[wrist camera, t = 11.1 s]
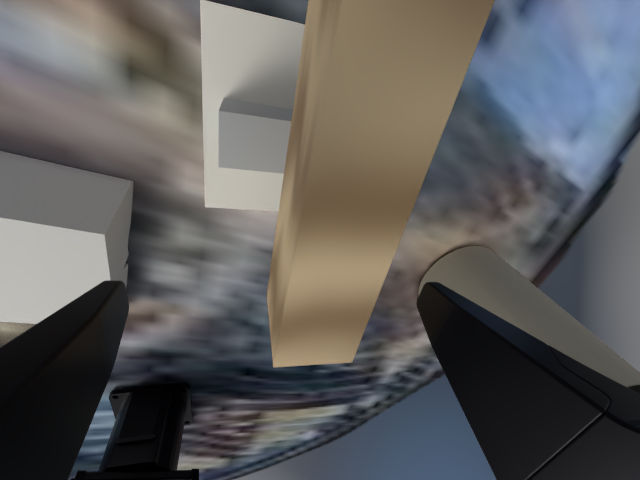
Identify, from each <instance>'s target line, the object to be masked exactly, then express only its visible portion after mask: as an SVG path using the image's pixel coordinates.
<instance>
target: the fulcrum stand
mask: <svg viewBox="0 0 640 480" xmlns="http://www.w3.org/2000/svg"><path fill="white" fill-rule="evenodd" d="M200 11H201V54H202V98H203V141H204V184H205V207H213V208H228V209H244V210H260V211H275V212H279V205H280V198H281V191H282V184H283V177H284V170H285V163H286V155H287V148H288V141H289V134H290V127H291V120H292V113H293V106H294V99H295V92H296V85H297V78H298V71H299V64H300V57H301V50H302V43H303V36H304V29H305V24H301V23H297V22H293V21H289V20H285V19H281V18H276V17H272V16H268V15H264V14H260V13H256V12H252V11H247V10H243V9H239V8H235V7H231V6H227V5H223V4H218V3H214V2H210V1H206V0H200Z"/></svg>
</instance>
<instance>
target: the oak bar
mask: <svg viewBox="0 0 640 480" xmlns="http://www.w3.org/2000/svg"><path fill="white" fill-rule="evenodd" d="M494 1H495V0H309V1H308V8H307V15H306V22H305V29H304V36H303V43H302V50H301V57H300V64H299V71H298V78H297V85H296V92H295V99H294V106H293V113H292V120H291V127H290V134H289V141H288V148H287V155H286V163H285V170H284V177H283V184H282V191H281V198H280V205H279V212H278V219H277V226H276V233H275V240H274V247H273V254H272V261H271V268H270V275H269V282H268V289H267V303H268V314H269V325H270V336H271V347H272V358H273V367H288V366H304V365H319V364H335V363H350V362H352V361H353V359H354V356H355V354H356V351H357V349H358V346H359V343H360V341H361V338H362V336H363V333H364V331H365V328H366V326H367V323H368V321H369V318H370V316H371V313H372V311H373V308H374V305H375V303H376V300H377V298H378V295H379V293H380V290H381V288H382V285H383V283H384V280H385V278H386V275H387V273H388V270H389V267H390V265H391V262H392V260H393V257H394V255H395V252H396V250H397V247H398V245H399V242H400V240H401V237H402V235H403V232H404V229H405V227H406V224H407V222H408V219H409V217H410V214H411V212H412V209H413V207H414V204H415V202H416V199H417V197H418V194H419V191H420V189H421V186H422V184H423V181H424V179H425V176H426V174H427V171H428V169H429V166H430V164H431V161H432V159H433V156H434V153H435V151H436V148H437V146H438V143H439V141H440V138H441V136H442V133H443V131H444V128H445V126H446V123H447V120H448V118H449V115H450V113H451V110H452V108H453V105H454V103H455V100H456V98H457V95H458V93H459V90H460V88H461V85H462V82H463V80H464V77H465V75H466V72H467V70H468V67H469V65H470V62H471V60H472V57H473V55H474V52H475V50H476V47H477V44H478V42H479V39H480V37H481V34H482V32H483V29H484V27H485V24H486V22H487V19H488V17H489V14H490V12H491V9H492V6H493V4H494Z"/></svg>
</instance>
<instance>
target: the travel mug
mask: <svg viewBox="0 0 640 480" xmlns="http://www.w3.org/2000/svg"><path fill="white" fill-rule="evenodd" d="M426 282H439V283H441V284H442V285H444V286H446V287H448V288H449V289H451V290H453V291H455V292H456V293H458V294H460V295H462V296H463V297H465V298H467V299H469V300H471V301H472V302H474V303H476V304H478V305H479V306H481V307H483V308H485V309H486V310H488V311H490V312H492V313H493V314H495V315H497V316H499V317H500V318H502V319H504V320H506V321H507V322H509V323H511V324H513V325H514V326H516V327H518V328H520V329H521V330H523V331H525V332H527V333H528V334H530V335H532V336H534V337H536V338H537V339H539V340H541V341H543V342H544V343H546V344H547V345H550V346H551V347H553V348H555V349H557V350H558V351H560V352H562V353H564V354H566V355H567V356H569V357H571V358H573V359H575V360H576V361H578V362H580V363H582V364H584V365H586V366H587V367H589V368H591V369H593V370H595V371H597V372H599V373H601V374H603V375H604V376H606V377H608V378H610V379H612V380H614V381H616V382H618V383H620V384H622V385H624V386H626V387H628V388H630V389H631V390H633V391H635V392H637V393H639V394H640V372H639V371H637V370H636V369H635V368H634V367H632V366H631V365H630V364H629V363H628V362H626V361H625V360H624V359H623V358H621V357H620V356H619V355H618V354H617V353H615V352H614V351H613V350H612V349H611V348H609V347H608V346H607V345H606V344H605V343H603V342H602V341H601V340H600V339H598V338H597V337H596V336H595V335H594V334H592V333H591V332H590V331H589V330H588V329H586V328H585V327H584V326H583V325H582V324H580V323H579V322H578V321H577V320H576V319H574V318H573V317H572V316H571V315H570V314H568V313H567V312H566V311H565V310H563V309H562V308H561V307H560V306H559V305H557V304H556V303H555V302H554V301H553V300H551V299H550V298H549V297H548V296H546V295H545V294H544V293H543V292H542V291H540V290H539V289H538V288H537V287H536V286H534V285H533V284H532V283H531V282H530V281H528V280H527V279H526V278H525V277H523V276H522V275H521V274H520V273H519V272H517V271H516V270H515V269H514V268H513V267H511V266H510V265H509V264H508V263H507V262H505V261H504V260H503V259H502V258H500V257H499V256H498V255H497V254H496V253H494V252H493V251H492V250H491V249H489V248H487V247H483V246H468V247H464V248H460V249H458V250H455V251H453V252H451V253H449V254H447V255H445V256H444V257H442V258H441V259H440V260H438V261H437V262H436V263H435V264H434V265H433V266H432V267H431V268H430V269H429V270H428V271H427V273H426V274H425V276H424V277H423V279H422V281H421V283H420V286H419V292H418V296H419V294H420V292H421V290H422V288H423V285H424V284H425V283H426Z"/></svg>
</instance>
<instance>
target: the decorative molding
mask: <svg viewBox="0 0 640 480" xmlns="http://www.w3.org/2000/svg"><path fill="white" fill-rule="evenodd" d="M133 184H134V181H130V180H126V179H122V178H117V177H113V176H108V175H104V174H99V173H95V172H90V171H86V170H81V169H77V168H73V167H68V166H64V165H60V164H55V163H51V162H47V161H43V160H38V159H34V158H30V157H25V156H21V155H17V154H12V153H8V152H4V151H0V321H2V322H17V323H31V324H37V323H39V322H40V321H42V320H44V319H45V318H47V317H48V316H50V315H51V314H53V313H54V312H56V311H58V310H59V309H61V308H62V307H64V306H65V305H67V304H69V303H70V302H72V301H73V300H75V299H76V298H78V297H79V296H81V295H83V294H84V293H86V292H87V291H89V290H90V289H92V288H93V287H95V286H97V285H98V284H100V283H101V282H103V281H107V280H120V281H123V282H124V284H125V287H127V275H128V264H126V260H127V258H128V255H129V253H128V238H129V231H130V224H131V214H132V199H133Z"/></svg>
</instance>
